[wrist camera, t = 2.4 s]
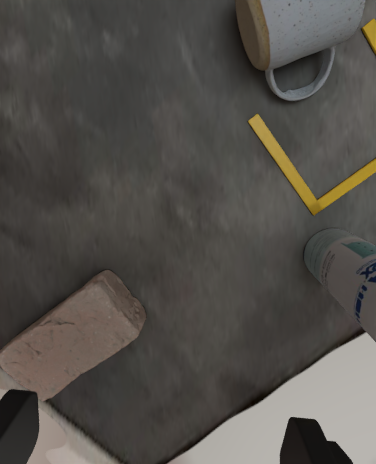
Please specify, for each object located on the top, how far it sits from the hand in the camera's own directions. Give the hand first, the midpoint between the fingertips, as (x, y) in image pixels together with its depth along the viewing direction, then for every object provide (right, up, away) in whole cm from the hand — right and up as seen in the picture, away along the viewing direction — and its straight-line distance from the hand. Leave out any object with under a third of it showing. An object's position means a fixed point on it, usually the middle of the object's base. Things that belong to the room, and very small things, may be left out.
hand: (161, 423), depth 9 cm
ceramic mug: (+10, +25, +19) cm, 33 cm away
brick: (-13, -6, +28) cm, 31 cm away
